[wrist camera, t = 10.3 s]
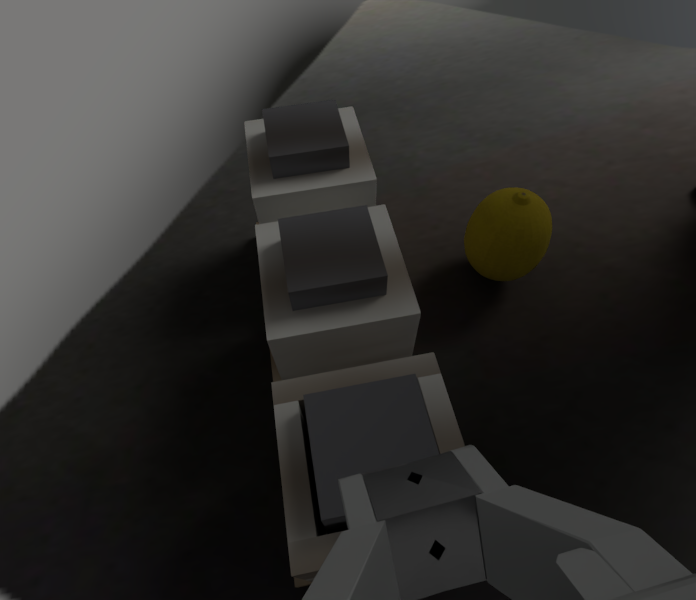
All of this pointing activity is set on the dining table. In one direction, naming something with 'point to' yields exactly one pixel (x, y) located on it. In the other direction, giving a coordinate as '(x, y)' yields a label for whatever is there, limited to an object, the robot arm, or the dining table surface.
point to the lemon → (508, 234)
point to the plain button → (364, 435)
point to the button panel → (328, 295)
